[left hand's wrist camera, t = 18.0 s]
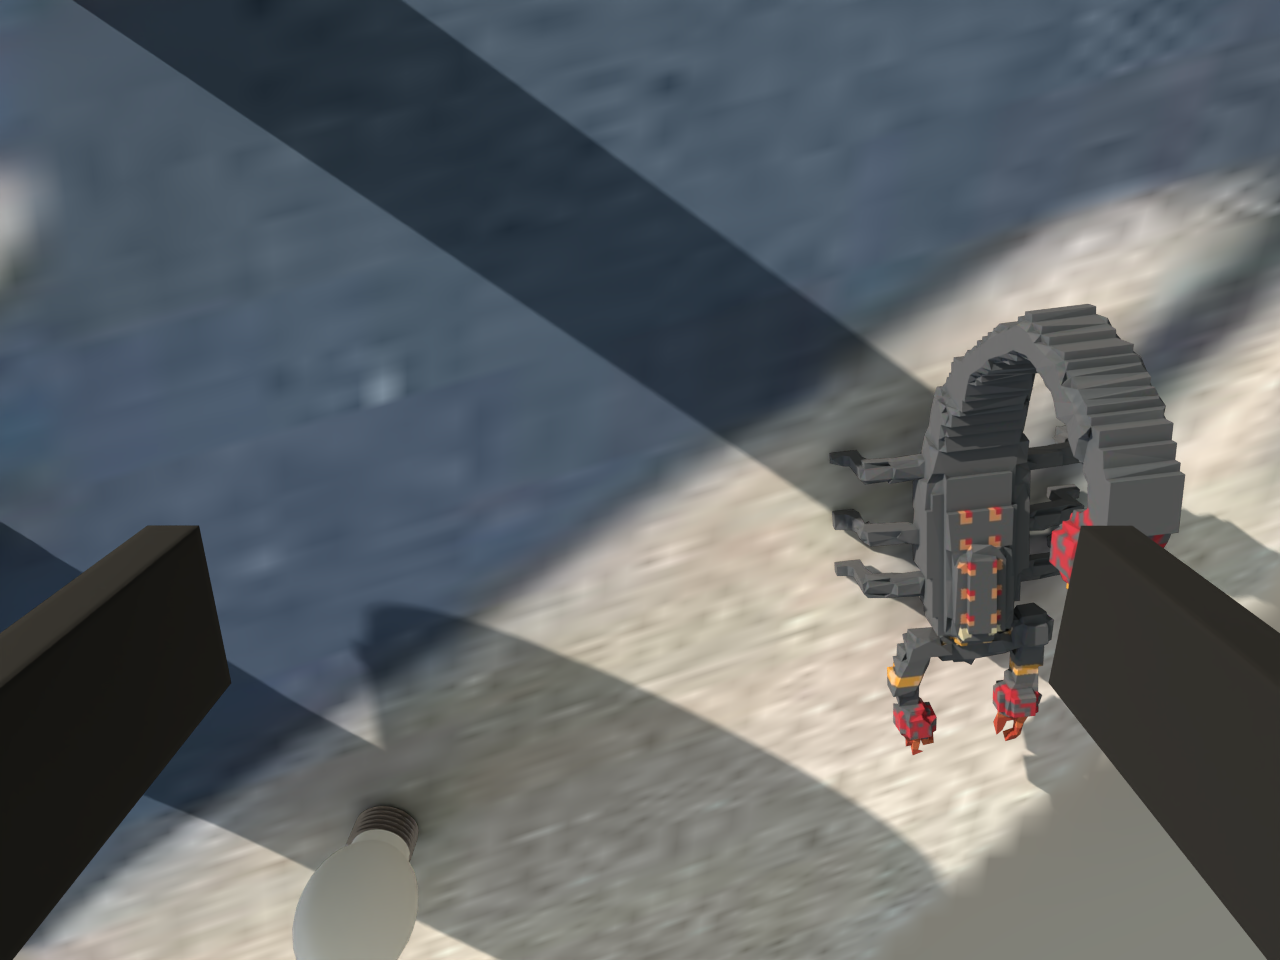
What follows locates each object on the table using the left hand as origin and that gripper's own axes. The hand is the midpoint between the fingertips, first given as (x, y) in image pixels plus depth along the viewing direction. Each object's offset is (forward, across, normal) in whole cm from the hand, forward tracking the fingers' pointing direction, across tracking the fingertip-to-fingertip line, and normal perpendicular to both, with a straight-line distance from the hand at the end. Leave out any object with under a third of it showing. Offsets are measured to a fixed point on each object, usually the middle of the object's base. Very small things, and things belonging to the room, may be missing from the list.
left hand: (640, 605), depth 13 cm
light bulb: (+32, +16, +34) cm, 50 cm away
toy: (+32, -17, +13) cm, 39 cm away
